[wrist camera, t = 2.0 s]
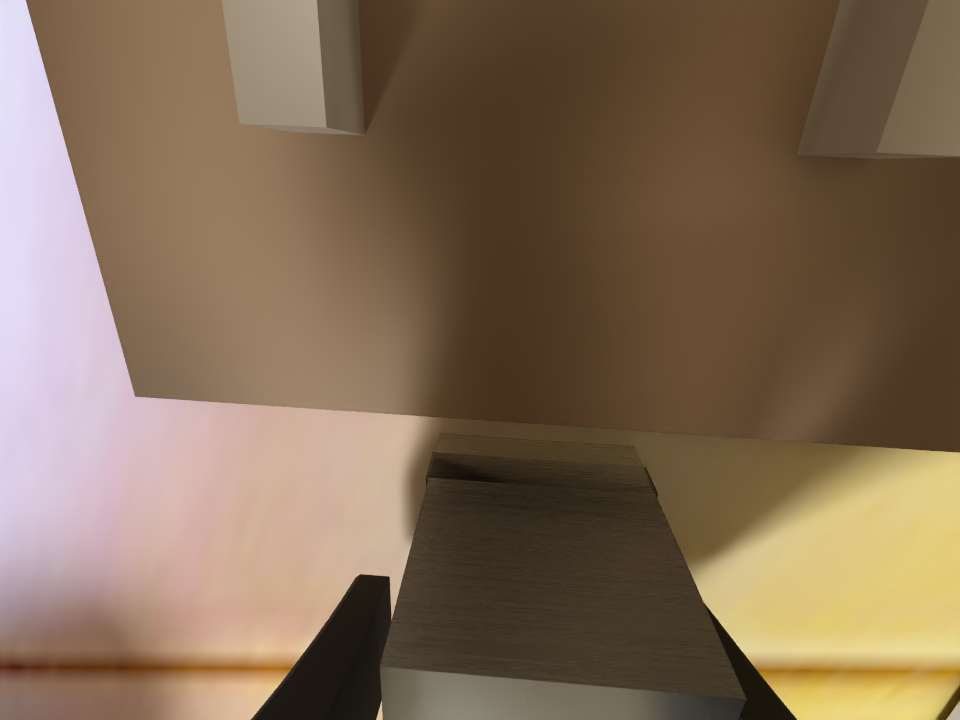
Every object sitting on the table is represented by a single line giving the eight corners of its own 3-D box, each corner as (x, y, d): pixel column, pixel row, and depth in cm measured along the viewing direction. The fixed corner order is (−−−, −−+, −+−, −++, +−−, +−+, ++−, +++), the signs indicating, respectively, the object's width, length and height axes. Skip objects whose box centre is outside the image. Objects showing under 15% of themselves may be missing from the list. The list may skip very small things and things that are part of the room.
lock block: (635, 444, 10) (751, 698, 5) (589, 667, 12) (638, 968, 8) (438, 430, 10) (375, 666, 5) (436, 654, 12) (393, 940, 8)
